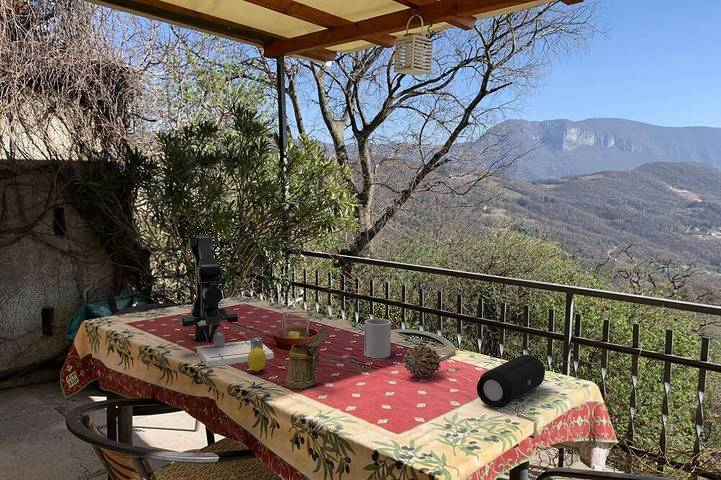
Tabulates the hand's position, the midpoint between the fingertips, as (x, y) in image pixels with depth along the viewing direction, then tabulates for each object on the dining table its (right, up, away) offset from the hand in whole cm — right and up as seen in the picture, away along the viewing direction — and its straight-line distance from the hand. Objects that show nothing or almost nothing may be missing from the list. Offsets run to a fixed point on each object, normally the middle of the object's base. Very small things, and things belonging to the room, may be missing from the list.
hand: (209, 343), depth 184 cm
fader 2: (+17, -2, -4) cm, 18 cm away
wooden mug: (+37, -7, -29) cm, 47 cm away
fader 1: (+3, -1, +2) cm, 3 cm away
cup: (+58, -5, +1) cm, 58 cm away
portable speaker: (+95, -9, -35) cm, 102 cm away
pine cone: (+75, -7, -17) cm, 77 cm away
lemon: (+20, -6, -18) cm, 28 cm away
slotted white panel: (+9, -4, -2) cm, 10 cm away
